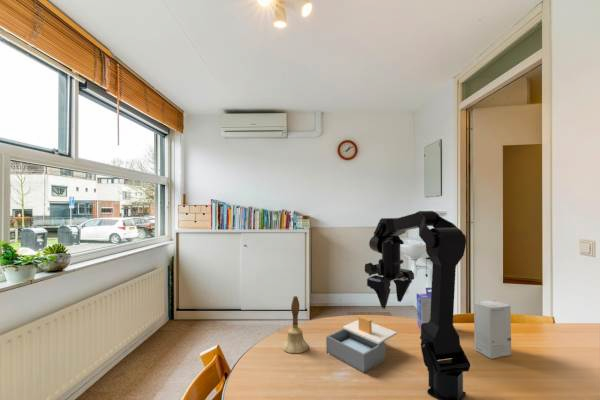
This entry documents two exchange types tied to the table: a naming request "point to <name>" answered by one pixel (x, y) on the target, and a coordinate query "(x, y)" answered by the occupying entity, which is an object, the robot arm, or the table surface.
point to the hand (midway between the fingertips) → (391, 304)
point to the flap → (369, 330)
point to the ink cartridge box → (423, 308)
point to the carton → (355, 350)
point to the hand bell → (295, 333)
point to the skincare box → (492, 328)
